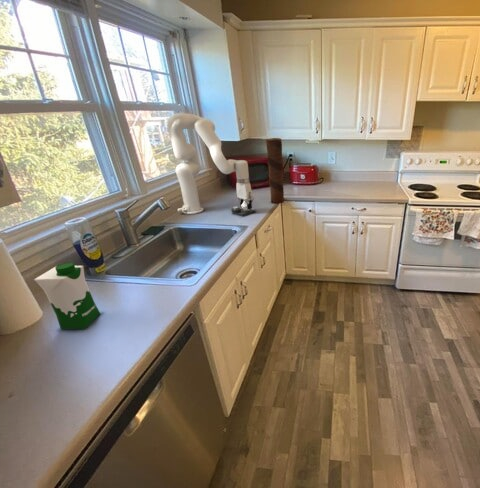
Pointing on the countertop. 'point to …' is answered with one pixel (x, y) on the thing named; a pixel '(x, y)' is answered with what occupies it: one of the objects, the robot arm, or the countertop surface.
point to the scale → (242, 212)
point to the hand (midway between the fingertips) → (246, 207)
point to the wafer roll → (275, 169)
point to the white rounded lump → (245, 205)
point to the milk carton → (69, 296)
